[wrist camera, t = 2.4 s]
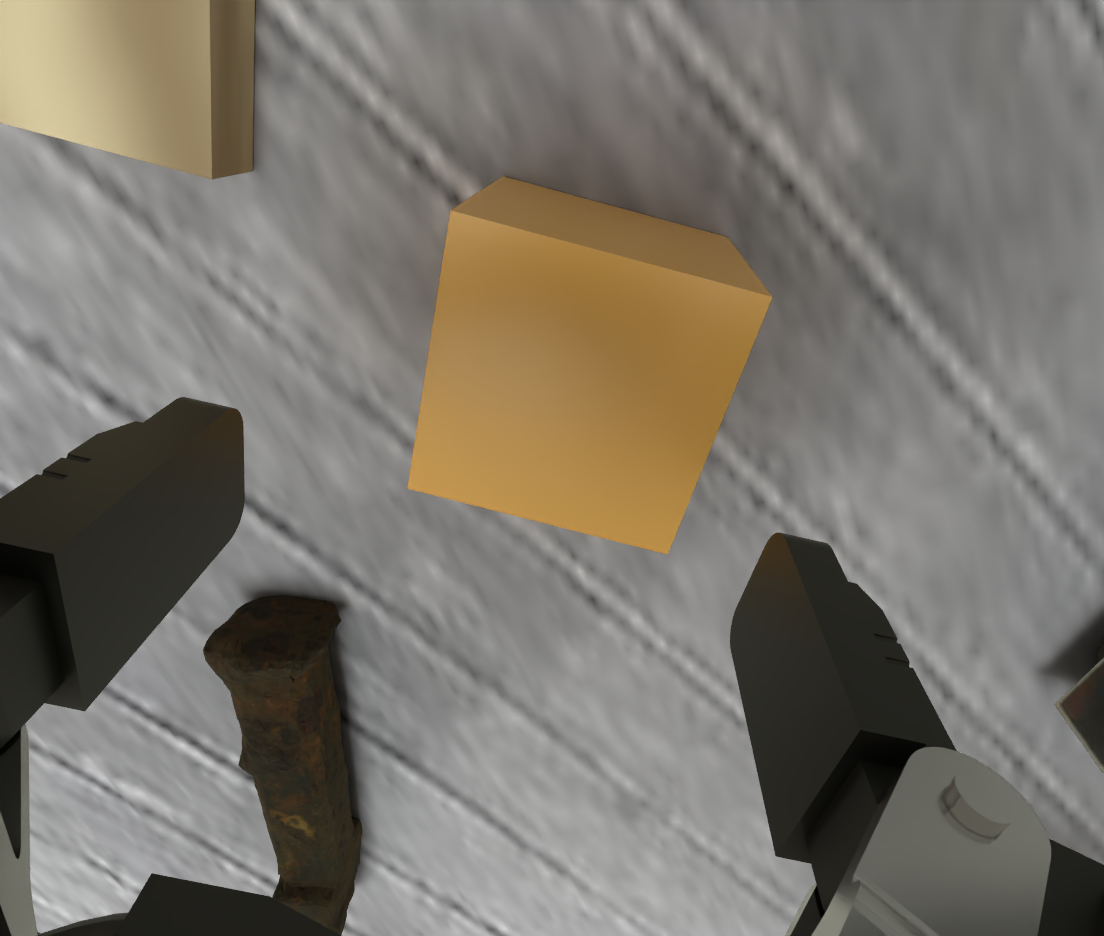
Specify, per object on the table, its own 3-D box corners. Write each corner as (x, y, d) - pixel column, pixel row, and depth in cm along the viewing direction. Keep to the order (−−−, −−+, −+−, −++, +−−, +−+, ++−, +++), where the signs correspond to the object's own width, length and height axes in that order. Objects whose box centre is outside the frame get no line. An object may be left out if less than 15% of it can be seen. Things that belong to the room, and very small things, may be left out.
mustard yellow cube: (727, 237, 17) (772, 297, 12) (655, 436, 20) (667, 554, 15) (502, 176, 17) (450, 210, 12) (463, 386, 20) (407, 488, 15)
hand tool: (244, 579, 25) (170, 673, 21) (349, 593, 25) (295, 690, 21) (297, 870, 34) (253, 974, 30) (374, 882, 34) (339, 987, 30)
